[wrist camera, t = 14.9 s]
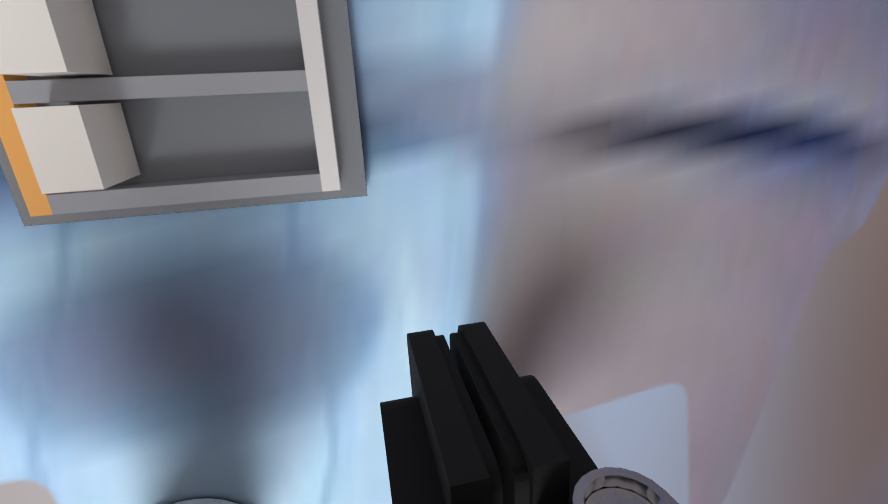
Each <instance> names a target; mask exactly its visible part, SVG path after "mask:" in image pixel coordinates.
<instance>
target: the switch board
mask: <svg viewBox="0 0 888 504" xmlns="http://www.w3.org/2000/svg"><path fill="white" fill-rule="evenodd" d="M92 3H93V6H94V10H95V14H96V17H97V21H98V24H99V28H100V31H101V35H102V39H103V42H104V46H105V49H106V53H107V56H108V60H109V63H110V67H111V71H112V74H113V75H98V76H71V77H45V76H25V75H4V74H0V165H1V168H2V170H3V173H4V175H5V178H6V181H7V183H8V186H9V188H10V191H11V193H12V196H13V199H14V201H15V204H16V206H17V209H18V211H19V214H20V217H21V219H22V222H23V224H24V226H32V225H43V224H55V223H66V222H77V221H88V220H100V219H111V218H122V217H134V216H145V215H156V214H167V213H179V212H190V211H201V210H212V209H224V208H235V207H246V206H257V205H269V204H280V203H291V202H302V201H314V200H325V199H336V198H348V197H359V196H367V188H366V179H365V169H364V160H363V150H362V141H361V131H360V122H359V112H358V103H357V93H356V84H355V74H354V65H353V55H352V46H351V36H350V27H349V17H348V8H347V0H92ZM108 103H121V106H122V110H123V114H124V117H125V121H126V124H127V128H128V131H129V135H130V138H131V142H132V146H133V149H134V153H135V156H136V160H137V163H138V167H139V170H140V175H138V176H135V177H133V178H130V179H128V180H125V181H123V182H121V183H118V184H116V185H113V186H111V187H108V188H106V189H101V190H88V191H75V192H62V193H49V194H42V193H41V190H40V187H39V185H38V182H37V179H36V176H35V174H34V171H33V168H32V165H31V163H30V160H29V157H28V154H27V152H26V149H25V146H24V143H23V141H22V138H21V135H20V132H19V130H18V127H17V124H16V121H15V119H14V116H13V113H12V110H11V108H27V107H46V106H66V105H87V104H108Z"/></svg>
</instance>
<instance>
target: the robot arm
mask: <svg viewBox="0 0 888 504" xmlns="http://www.w3.org/2000/svg"><path fill="white" fill-rule="evenodd" d="M407 344H408V355H409V365H410V376H411V386H412V397H408V398H403V399H398V400H392V401H387V402H381V403H380V407H381V415H382V423H383V432H384V440H385V448H386V456H387V464H388V472H389V480H390V488H391V496H392V504H679V503H677V502H676V501H675V500H674V499H673V498H672V497H671V496H670V495H669V494H668V493H667V492H666V491H665V490H664V489H663V488H661V487H660V486H659V485H658V484H656V483H655V482H654V481H653V480H651V479H649V478H647V477H645V476H643V475H641V474H639V473H637V472H634V471H630V470H627V469H623V468H612V467H605V468H600V469H598V468H597V466H596V465H595V463H594V462H593V461H592V459H591V458H590V456H589V455H588V453H587V452H586V450H585V449H584V447H583V446H582V445H581V443H580V442H579V440H578V439H577V437H576V436H575V434H574V433H573V432H572V430H571V428H570V427H569V425H568V424H567V423H566V421H565V420H564V418H563V417H562V415H561V414H560V412H559V411H558V409H557V408H556V406H555V405H554V404H553V402H552V401H551V399H550V398H549V396H548V395H547V393H546V392H545V390H544V389H543V387H542V386H541V385H540V383H539V382H538V380H537V379H536V378H535V377H534V376H532V375H528V376H523V377H519V376H518V375H517V373H516V371H515V370H514V368H513V367H512V365H511V363H510V362H509V360H508V359H507V357H506V355H505V354H504V352H503V351H502V349H501V348H500V346H499V344H498V343H497V341H496V340H495V338H494V336H493V335H492V333H491V332H490V330H489V328H488V327H487V325H486V324H485V323H484V322H478V323H472V324H465V325H459V326H458V332H457V333H451V334H450V349H449V347H448V344H447V342H446V340H445V337H444V335H439V336H435V334H434V332H433V330H427V331H421V332H414V333H408V334H407ZM174 504H237V503H234V502H230V501H226V500H220V499H211V498H207V499H192V500H186V501H180V502H177V503H174Z"/></svg>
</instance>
